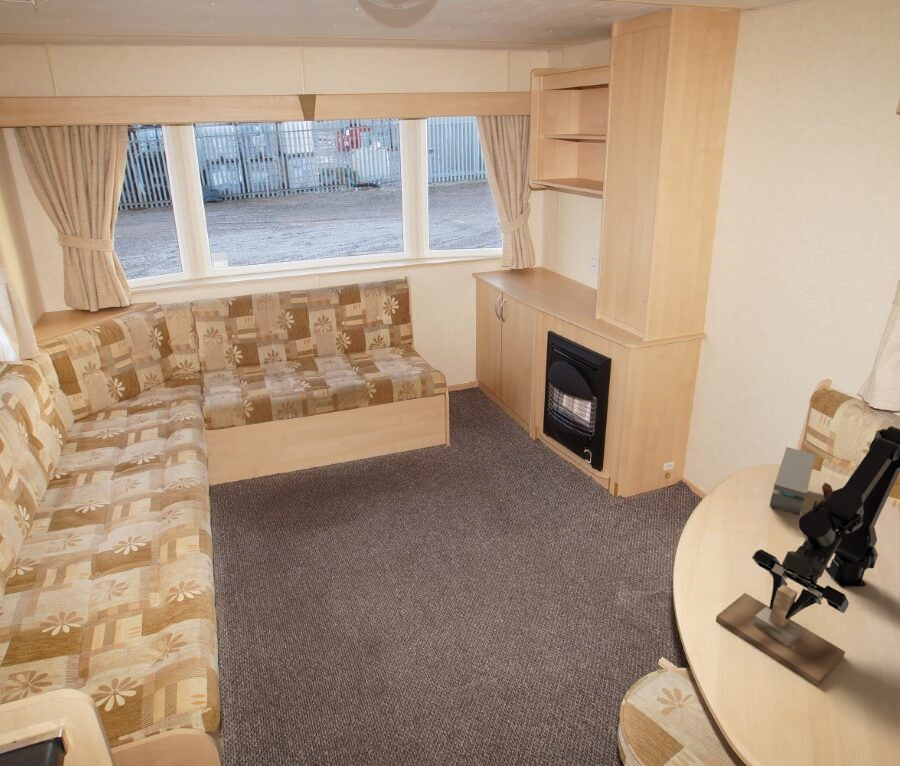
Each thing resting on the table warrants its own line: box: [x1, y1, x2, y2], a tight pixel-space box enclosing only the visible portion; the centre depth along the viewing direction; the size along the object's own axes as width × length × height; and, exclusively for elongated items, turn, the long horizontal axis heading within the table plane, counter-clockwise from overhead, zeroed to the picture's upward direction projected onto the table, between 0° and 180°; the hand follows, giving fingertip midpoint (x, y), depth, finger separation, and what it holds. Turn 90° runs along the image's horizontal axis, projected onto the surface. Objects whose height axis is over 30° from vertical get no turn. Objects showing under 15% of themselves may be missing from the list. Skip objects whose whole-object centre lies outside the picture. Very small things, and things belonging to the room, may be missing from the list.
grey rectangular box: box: [769, 446, 816, 516], centre depth 186 cm, size 25×8×11 cm, turn 148°
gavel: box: [811, 481, 834, 510], centre depth 187 cm, size 21×5×10 cm
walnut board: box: [715, 592, 846, 687], centre depth 139 cm, size 22×12×2 cm, turn 39°
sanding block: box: [753, 584, 802, 647], centre depth 137 cm, size 8×4×11 cm, turn 37°
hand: (778, 613), depth 136 cm, fingers closed on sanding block, 3 cm apart
